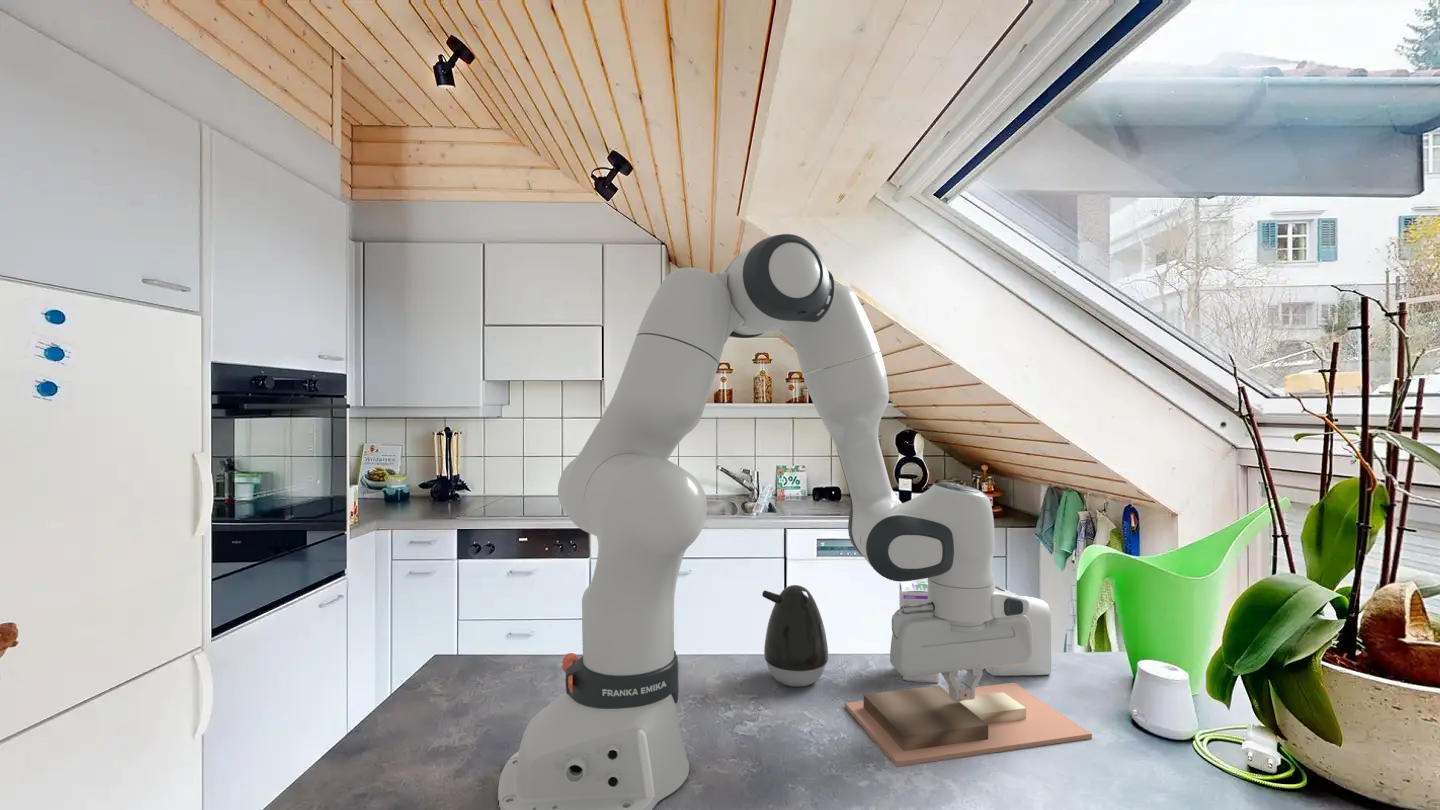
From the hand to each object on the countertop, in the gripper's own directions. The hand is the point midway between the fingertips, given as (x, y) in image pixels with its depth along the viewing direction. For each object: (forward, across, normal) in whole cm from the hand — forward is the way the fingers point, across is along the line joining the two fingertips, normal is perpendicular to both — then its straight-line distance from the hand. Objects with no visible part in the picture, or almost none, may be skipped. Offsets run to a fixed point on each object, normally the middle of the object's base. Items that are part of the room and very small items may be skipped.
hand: (961, 698), depth 93 cm
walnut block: (+3, -6, 0) cm, 7 cm away
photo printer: (+4, +18, +12) cm, 22 cm away
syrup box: (+3, +2, +16) cm, 16 cm away
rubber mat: (+3, 0, 0) cm, 3 cm away
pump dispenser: (+3, -18, +18) cm, 26 cm away
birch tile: (+3, +4, 0) cm, 5 cm away
